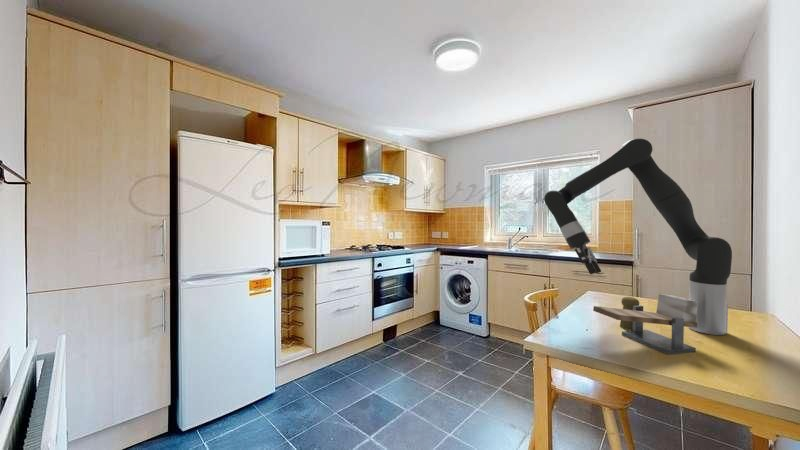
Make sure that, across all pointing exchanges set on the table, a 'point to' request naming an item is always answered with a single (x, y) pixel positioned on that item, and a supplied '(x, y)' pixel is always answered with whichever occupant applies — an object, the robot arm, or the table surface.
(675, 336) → the beam stand
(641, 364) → the table surface
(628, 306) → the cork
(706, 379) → the table surface
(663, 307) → the balance beam
